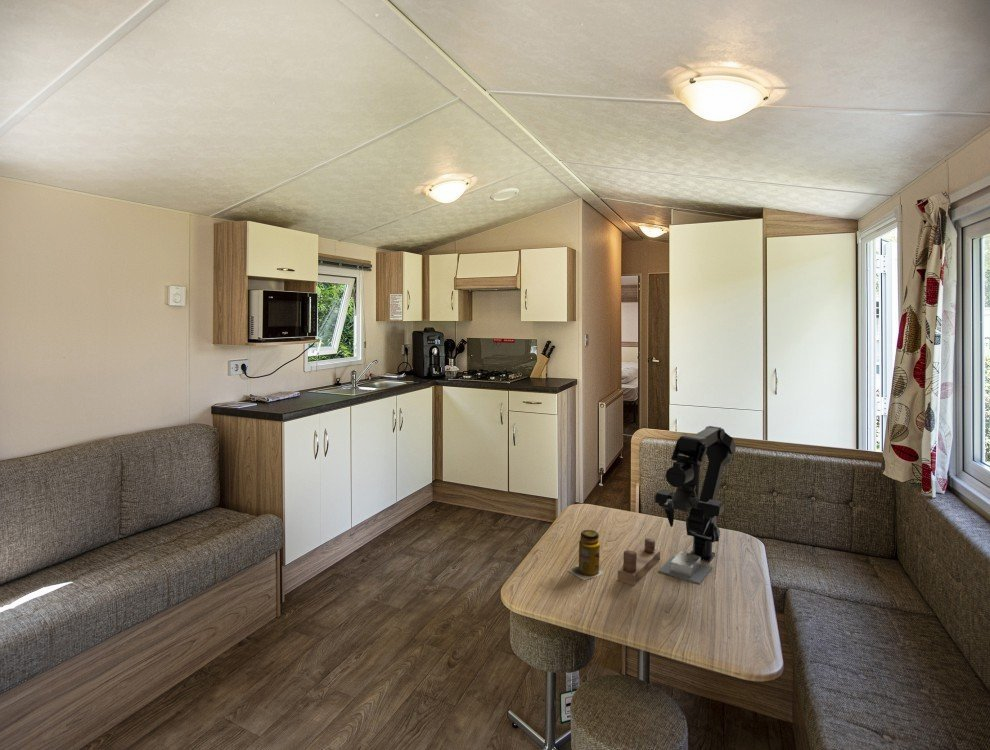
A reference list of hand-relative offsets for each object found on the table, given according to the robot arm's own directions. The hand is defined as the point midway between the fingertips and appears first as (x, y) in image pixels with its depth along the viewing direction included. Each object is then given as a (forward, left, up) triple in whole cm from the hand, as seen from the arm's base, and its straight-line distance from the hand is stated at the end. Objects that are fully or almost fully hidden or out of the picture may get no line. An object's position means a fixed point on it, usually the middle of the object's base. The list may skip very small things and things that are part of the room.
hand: (687, 530), depth 157 cm
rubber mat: (0, 0, -13) cm, 13 cm away
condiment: (+19, -23, -13) cm, 32 cm away
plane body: (+8, -11, -13) cm, 18 cm away
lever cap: (0, 0, -12) cm, 12 cm away
